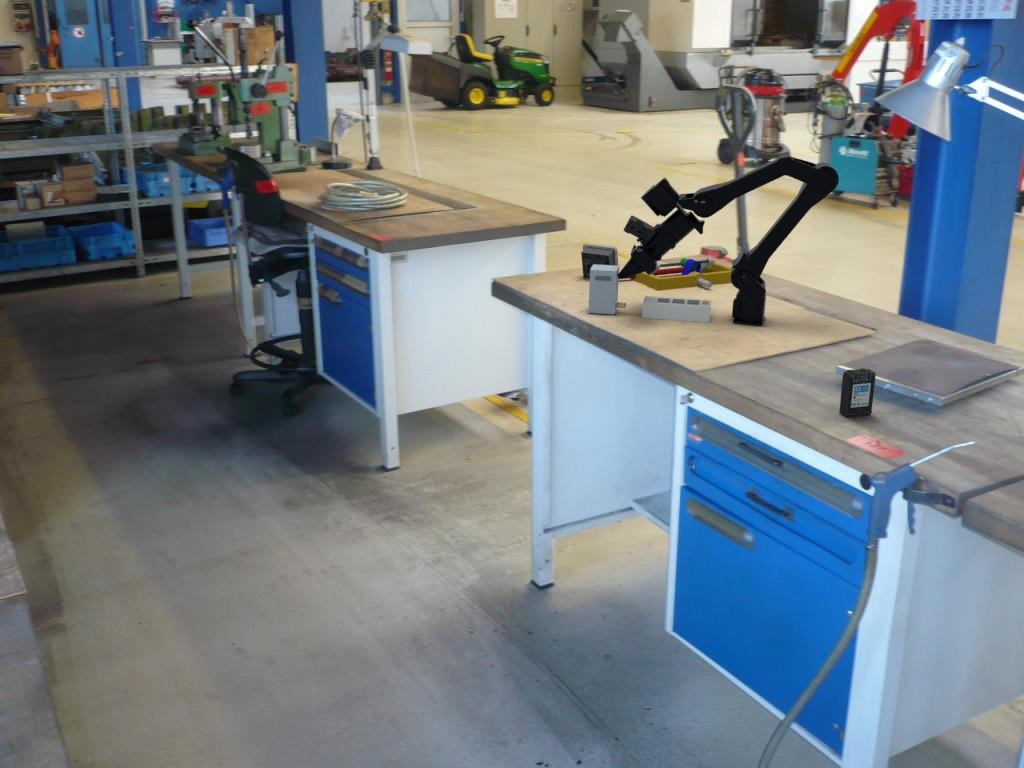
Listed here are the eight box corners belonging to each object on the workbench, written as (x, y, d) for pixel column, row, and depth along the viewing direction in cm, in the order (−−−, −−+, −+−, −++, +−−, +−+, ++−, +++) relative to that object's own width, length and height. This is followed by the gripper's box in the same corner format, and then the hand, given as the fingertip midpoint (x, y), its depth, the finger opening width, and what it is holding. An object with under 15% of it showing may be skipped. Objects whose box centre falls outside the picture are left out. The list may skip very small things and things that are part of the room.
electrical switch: (619, 279, 274) (619, 245, 271) (611, 286, 270) (611, 250, 267) (586, 275, 279) (586, 241, 275) (578, 281, 274) (577, 246, 271)
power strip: (711, 303, 253) (712, 288, 252) (709, 322, 237) (710, 306, 236) (647, 299, 256) (648, 284, 254) (641, 318, 240) (642, 301, 239)
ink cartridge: (845, 418, 182) (850, 374, 180) (838, 413, 184) (843, 370, 182) (871, 415, 183) (876, 371, 181) (864, 411, 186) (868, 367, 183)
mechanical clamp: (615, 258, 272) (713, 249, 284) (614, 281, 274) (711, 271, 286) (654, 273, 257) (755, 263, 269) (652, 298, 259) (753, 287, 271)
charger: (626, 308, 246) (628, 266, 243) (624, 315, 241) (626, 271, 238) (591, 306, 248) (593, 264, 245) (588, 312, 243) (590, 269, 239)
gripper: (650, 198, 244) (599, 242, 249) (643, 212, 226) (589, 259, 232) (682, 234, 245) (631, 277, 250) (678, 250, 228) (623, 297, 233)
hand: (618, 277), depth 242 cm, fingers closed, pressing on charger
